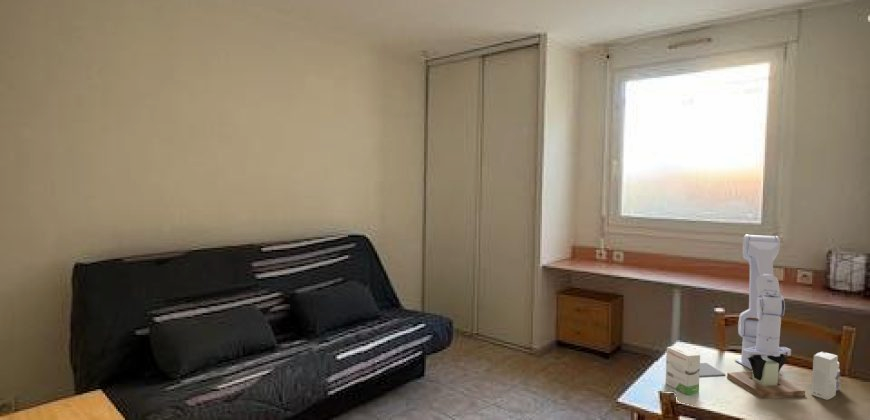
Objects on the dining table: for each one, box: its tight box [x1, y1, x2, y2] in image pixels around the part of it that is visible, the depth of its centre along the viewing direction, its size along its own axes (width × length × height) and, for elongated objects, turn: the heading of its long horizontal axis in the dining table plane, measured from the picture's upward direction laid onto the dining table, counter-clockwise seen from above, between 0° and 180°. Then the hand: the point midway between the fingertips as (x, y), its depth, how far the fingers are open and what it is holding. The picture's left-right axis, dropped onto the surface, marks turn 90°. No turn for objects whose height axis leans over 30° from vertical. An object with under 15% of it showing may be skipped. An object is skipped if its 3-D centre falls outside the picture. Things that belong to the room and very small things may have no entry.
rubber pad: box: [699, 362, 726, 378], centre depth 162 cm, size 9×9×1 cm
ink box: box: [665, 345, 701, 396], centre depth 149 cm, size 9×5×12 cm, turn 20°
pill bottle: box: [836, 361, 841, 391], centre depth 150 cm, size 5×5×8 cm
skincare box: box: [810, 351, 839, 401], centre depth 145 cm, size 6×4×12 cm
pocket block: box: [726, 370, 806, 399], centre depth 151 cm, size 14×14×2 cm
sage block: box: [752, 358, 779, 386], centre depth 150 cm, size 4×4×8 cm
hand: (764, 378), depth 150 cm, fingers closed on sage block, 4 cm apart
